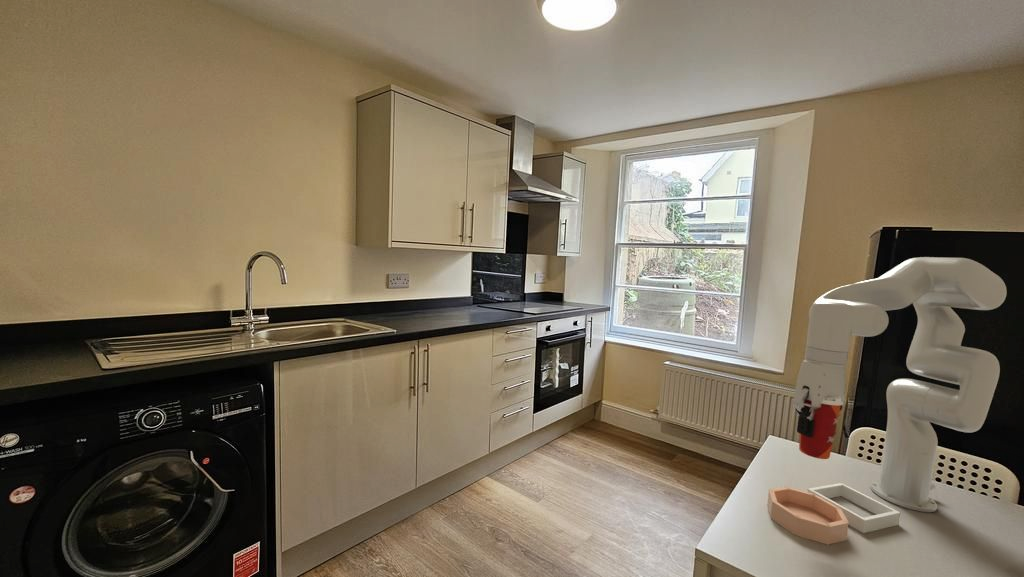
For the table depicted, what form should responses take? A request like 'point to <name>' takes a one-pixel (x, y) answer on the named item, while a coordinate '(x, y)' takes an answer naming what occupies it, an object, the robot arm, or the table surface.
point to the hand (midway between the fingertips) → (816, 433)
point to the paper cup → (822, 429)
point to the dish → (807, 515)
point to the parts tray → (883, 513)
